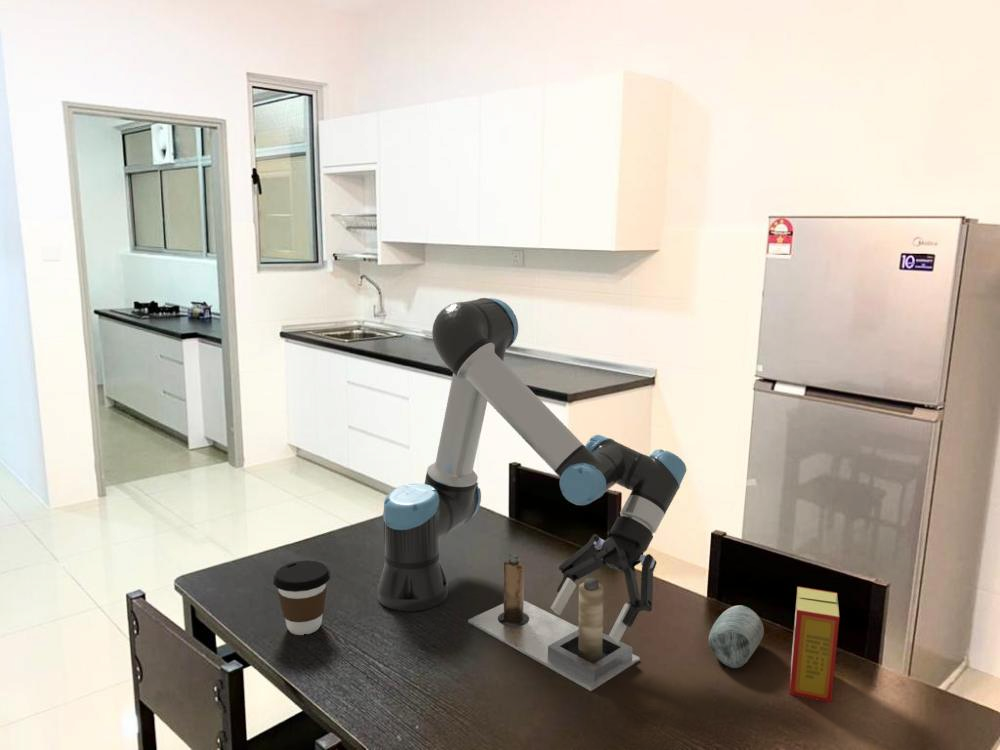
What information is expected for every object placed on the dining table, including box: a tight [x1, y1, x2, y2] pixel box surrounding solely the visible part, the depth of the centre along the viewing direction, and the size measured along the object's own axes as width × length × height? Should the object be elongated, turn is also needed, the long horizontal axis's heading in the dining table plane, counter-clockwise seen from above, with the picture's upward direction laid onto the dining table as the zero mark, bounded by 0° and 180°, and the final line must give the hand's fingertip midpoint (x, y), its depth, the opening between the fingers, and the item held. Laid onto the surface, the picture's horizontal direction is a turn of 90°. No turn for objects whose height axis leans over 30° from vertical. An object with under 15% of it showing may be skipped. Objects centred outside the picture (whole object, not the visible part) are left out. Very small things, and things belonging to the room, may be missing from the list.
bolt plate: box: [467, 553, 640, 692], centre depth 146 cm, size 32×14×14 cm, turn 44°
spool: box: [708, 604, 765, 669], centre depth 142 cm, size 14×10×10 cm
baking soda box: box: [789, 586, 840, 703], centre depth 132 cm, size 10×6×16 cm
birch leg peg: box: [577, 577, 604, 664], centre depth 139 cm, size 4×4×15 cm
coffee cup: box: [272, 560, 331, 636], centre depth 151 cm, size 11×11×12 cm
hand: (583, 625), depth 137 cm, fingers open, 13 cm apart
